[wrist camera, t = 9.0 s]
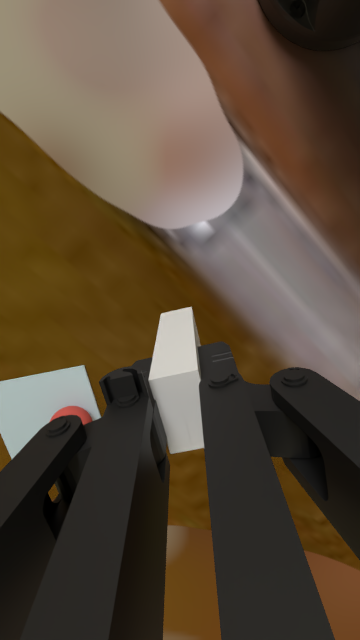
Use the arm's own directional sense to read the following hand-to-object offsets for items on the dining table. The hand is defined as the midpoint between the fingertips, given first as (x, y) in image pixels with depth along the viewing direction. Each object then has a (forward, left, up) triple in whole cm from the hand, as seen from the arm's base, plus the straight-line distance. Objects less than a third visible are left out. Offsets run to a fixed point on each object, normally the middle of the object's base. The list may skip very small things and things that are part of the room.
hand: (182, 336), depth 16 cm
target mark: (+21, +17, -24) cm, 36 cm away
